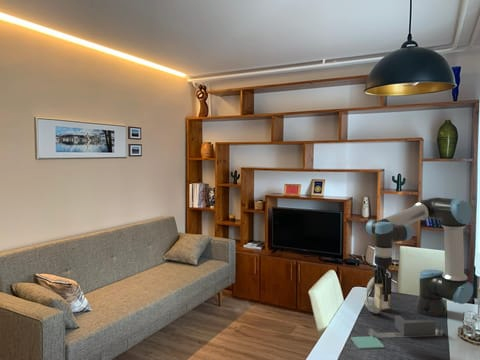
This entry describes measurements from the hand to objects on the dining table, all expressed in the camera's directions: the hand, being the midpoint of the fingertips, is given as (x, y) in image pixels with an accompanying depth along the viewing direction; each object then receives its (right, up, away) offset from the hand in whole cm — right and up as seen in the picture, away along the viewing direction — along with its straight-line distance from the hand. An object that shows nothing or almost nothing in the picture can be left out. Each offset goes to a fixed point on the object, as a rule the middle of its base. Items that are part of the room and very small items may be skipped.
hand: (381, 305), depth 174 cm
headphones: (+11, -16, +36) cm, 41 cm away
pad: (-7, -18, +1) cm, 19 cm away
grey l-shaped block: (+21, -16, +12) cm, 29 cm away
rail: (+15, -17, +9) cm, 24 cm away
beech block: (0, -1, 0) cm, 1 cm away
